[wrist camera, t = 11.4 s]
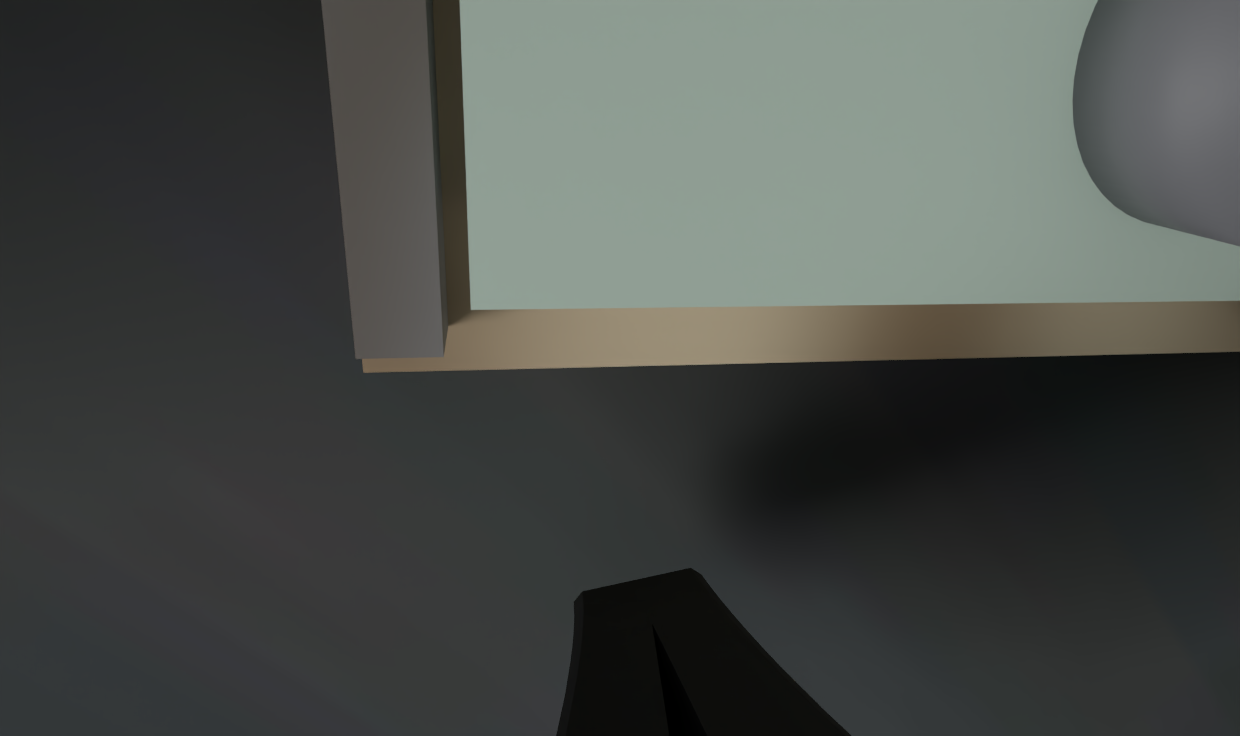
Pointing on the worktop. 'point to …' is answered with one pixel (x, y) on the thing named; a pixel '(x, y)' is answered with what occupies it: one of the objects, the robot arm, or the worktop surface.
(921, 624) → the worktop surface
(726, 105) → the slider bar
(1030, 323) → the oak jig
